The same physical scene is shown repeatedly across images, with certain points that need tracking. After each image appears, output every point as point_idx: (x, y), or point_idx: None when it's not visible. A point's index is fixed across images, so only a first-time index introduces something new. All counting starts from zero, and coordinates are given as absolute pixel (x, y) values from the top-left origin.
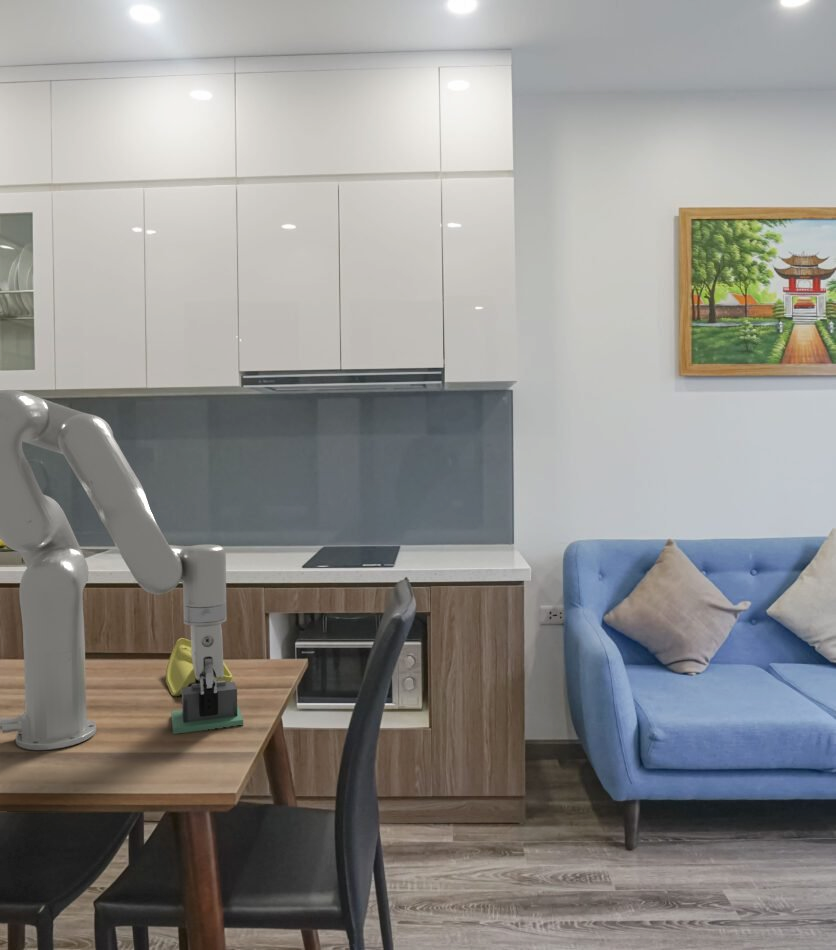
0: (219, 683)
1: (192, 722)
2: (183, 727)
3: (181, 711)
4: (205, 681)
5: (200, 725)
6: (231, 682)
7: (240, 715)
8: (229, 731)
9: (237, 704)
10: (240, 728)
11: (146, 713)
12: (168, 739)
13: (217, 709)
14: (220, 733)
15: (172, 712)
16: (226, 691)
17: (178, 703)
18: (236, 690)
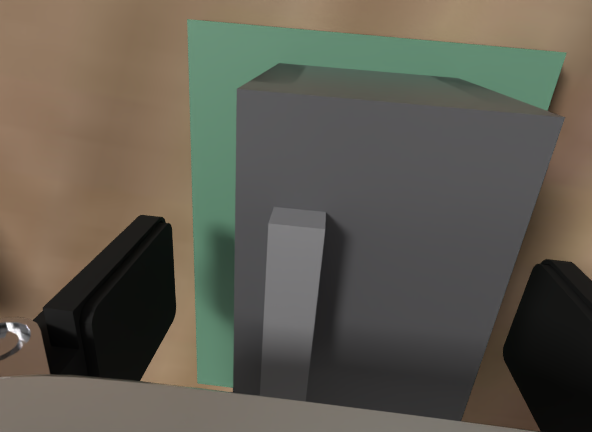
0: (316, 287)
1: None
2: None
3: (218, 348)
4: (116, 348)
5: None
6: (256, 129)
7: (458, 52)
8: (588, 157)
9: (205, 22)
10: (586, 81)
11: None
12: (492, 414)
13: (587, 282)
14: (582, 210)
15: (217, 382)
16: (515, 235)
17: (19, 308)
18: (553, 121)
